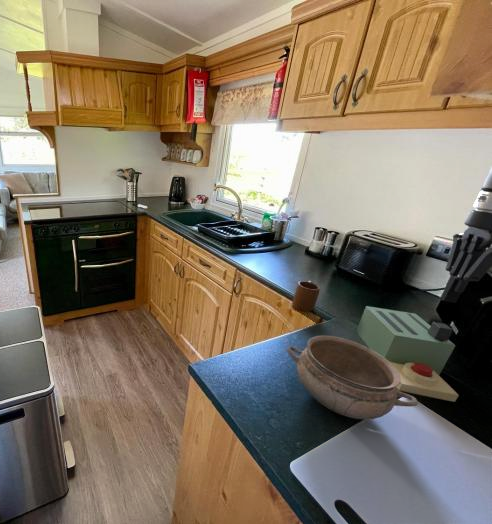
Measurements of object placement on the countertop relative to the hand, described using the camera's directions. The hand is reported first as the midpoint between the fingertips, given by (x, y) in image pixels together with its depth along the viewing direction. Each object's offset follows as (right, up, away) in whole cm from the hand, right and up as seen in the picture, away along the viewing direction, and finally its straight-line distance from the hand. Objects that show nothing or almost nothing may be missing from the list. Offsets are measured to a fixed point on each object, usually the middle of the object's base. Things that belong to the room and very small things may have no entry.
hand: (447, 300), depth 76 cm
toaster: (-3, -17, +13) cm, 22 cm away
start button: (-8, -19, -1) cm, 20 cm away
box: (-8, -22, 0) cm, 23 cm away
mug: (-17, -7, +38) cm, 42 cm away
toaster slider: (+1, -10, +3) cm, 11 cm away
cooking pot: (-35, -23, -7) cm, 42 cm away
